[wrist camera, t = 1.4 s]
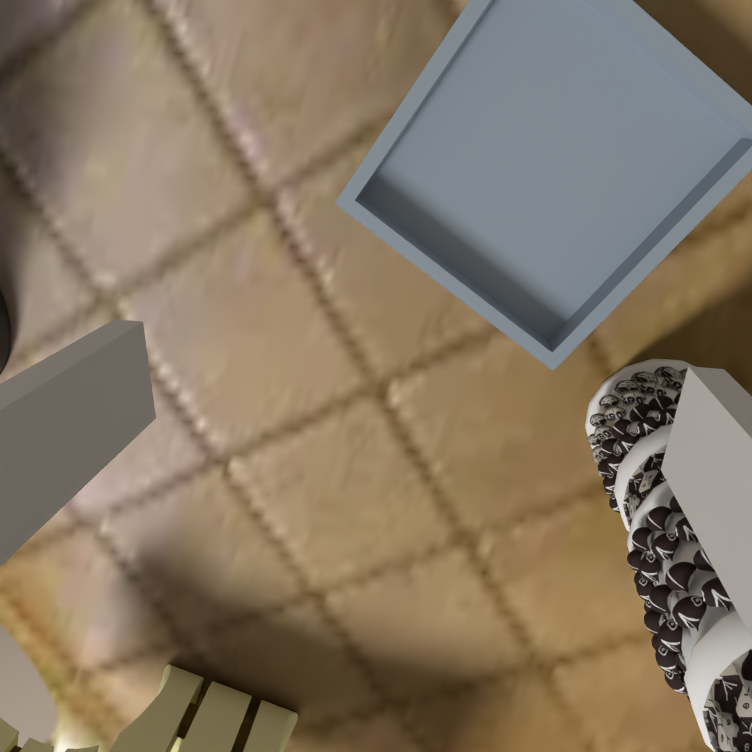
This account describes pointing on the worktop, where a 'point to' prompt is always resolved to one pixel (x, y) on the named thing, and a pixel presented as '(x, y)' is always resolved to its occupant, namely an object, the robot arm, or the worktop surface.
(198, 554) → the worktop surface
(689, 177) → the tray
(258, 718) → the slatted curved stool
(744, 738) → the decorative candle
